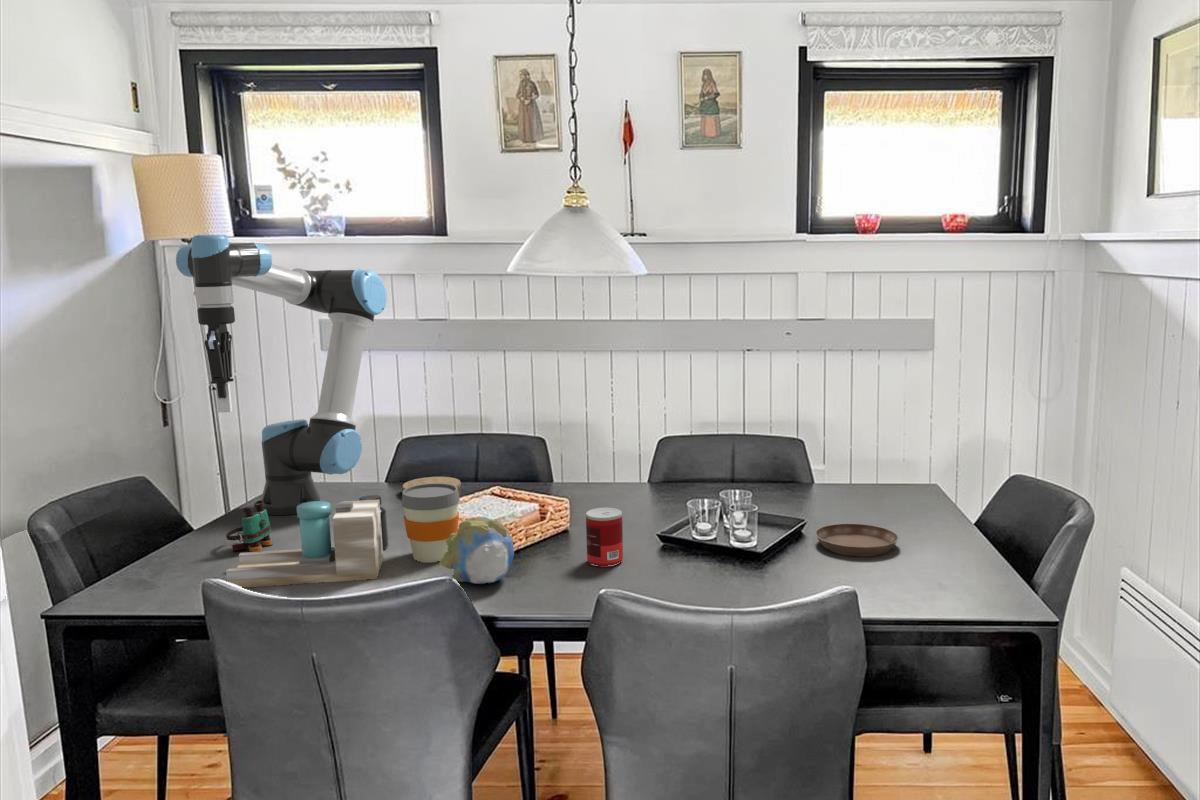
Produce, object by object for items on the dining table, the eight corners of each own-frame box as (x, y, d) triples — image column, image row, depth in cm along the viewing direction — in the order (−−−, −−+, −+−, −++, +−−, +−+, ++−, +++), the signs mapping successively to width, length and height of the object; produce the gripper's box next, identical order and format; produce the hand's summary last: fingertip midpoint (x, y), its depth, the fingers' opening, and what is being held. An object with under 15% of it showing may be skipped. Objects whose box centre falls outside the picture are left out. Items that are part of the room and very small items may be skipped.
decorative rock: (490, 517, 186) (511, 499, 200) (417, 538, 189) (443, 519, 204) (513, 583, 187) (532, 561, 201) (440, 603, 190) (464, 580, 205)
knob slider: (304, 559, 206) (300, 501, 203) (337, 557, 206) (332, 499, 204) (298, 571, 198) (293, 511, 196) (331, 569, 199) (327, 509, 197)
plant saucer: (833, 530, 223) (833, 518, 223) (908, 543, 213) (909, 529, 213) (802, 551, 209) (802, 538, 209) (881, 566, 199) (882, 552, 199)
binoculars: (234, 501, 225) (272, 498, 222) (242, 544, 226) (280, 541, 224) (212, 511, 216) (251, 508, 214) (220, 556, 217) (259, 553, 215)
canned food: (627, 557, 207) (626, 508, 206) (616, 569, 200) (615, 519, 198) (594, 554, 210) (593, 506, 208) (582, 566, 203) (580, 516, 201)
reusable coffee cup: (436, 568, 203) (432, 500, 201) (392, 559, 210) (388, 493, 207) (473, 551, 214) (470, 486, 211) (431, 543, 220) (428, 480, 218)
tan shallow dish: (392, 494, 265) (391, 484, 265) (440, 483, 276) (440, 473, 275) (423, 505, 254) (422, 494, 253) (472, 493, 264) (472, 483, 264)
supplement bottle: (395, 545, 220) (391, 494, 218) (376, 554, 214) (373, 502, 212) (371, 542, 222) (367, 492, 220) (351, 551, 216) (348, 499, 214)
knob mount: (242, 567, 207) (236, 502, 205) (383, 558, 210) (379, 495, 208) (226, 588, 194) (220, 519, 192) (376, 579, 198) (372, 511, 195)
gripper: (206, 304, 215) (215, 407, 219) (188, 308, 202) (199, 417, 206) (240, 303, 216) (249, 406, 220) (225, 307, 203) (234, 416, 207)
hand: (225, 411), depth 213 cm, fingers closed
